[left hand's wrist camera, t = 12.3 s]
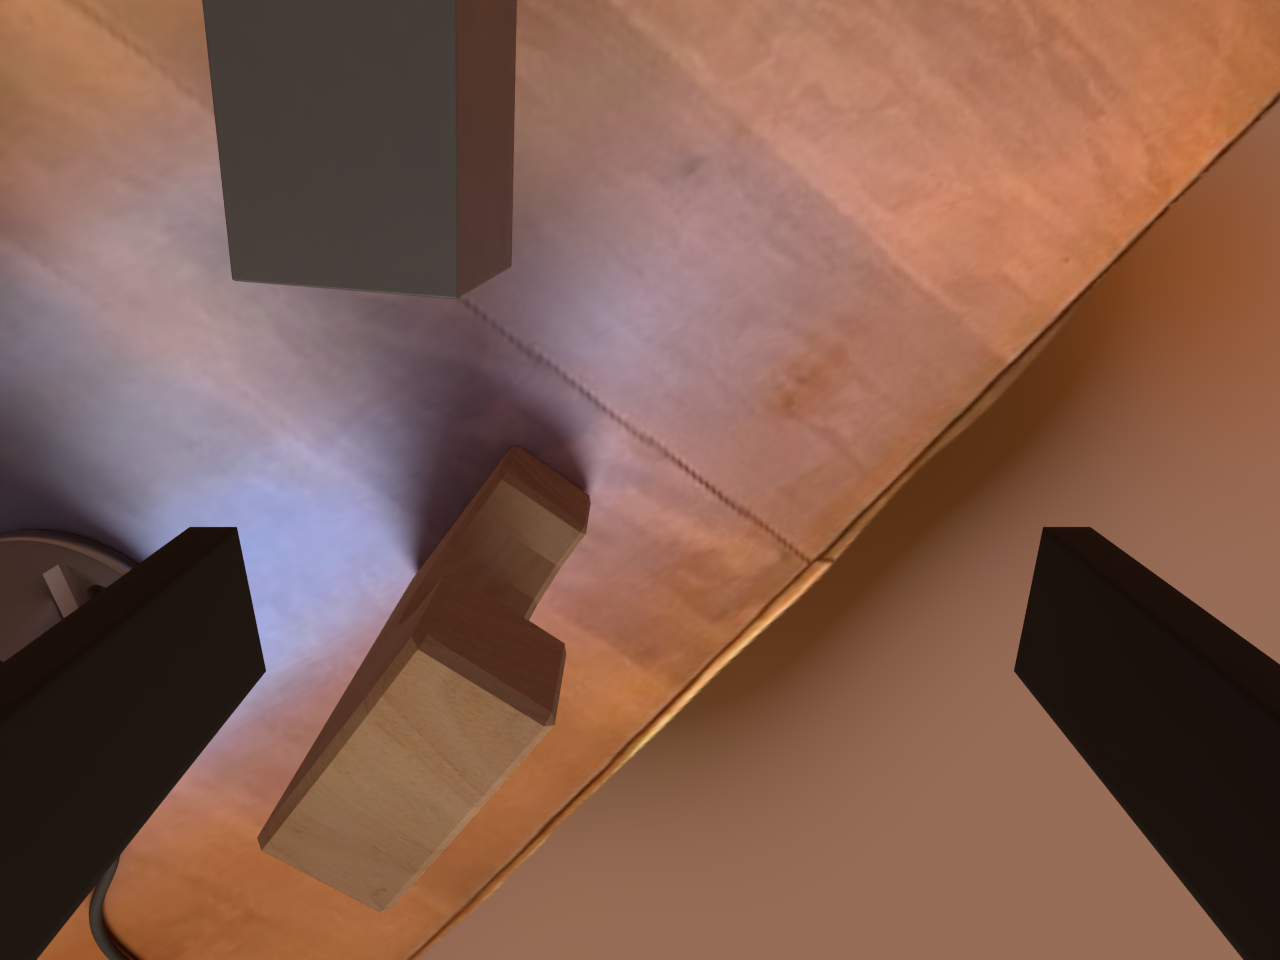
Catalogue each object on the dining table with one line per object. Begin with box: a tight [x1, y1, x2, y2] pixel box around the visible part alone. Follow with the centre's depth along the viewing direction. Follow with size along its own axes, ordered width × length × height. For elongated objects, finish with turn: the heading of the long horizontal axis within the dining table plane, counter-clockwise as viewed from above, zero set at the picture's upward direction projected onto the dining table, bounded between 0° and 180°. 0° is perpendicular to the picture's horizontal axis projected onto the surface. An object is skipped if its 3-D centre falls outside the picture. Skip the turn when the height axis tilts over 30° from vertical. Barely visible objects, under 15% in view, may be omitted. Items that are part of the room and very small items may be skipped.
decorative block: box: [257, 447, 591, 913], centre depth 35 cm, size 11×6×20 cm, turn 141°
